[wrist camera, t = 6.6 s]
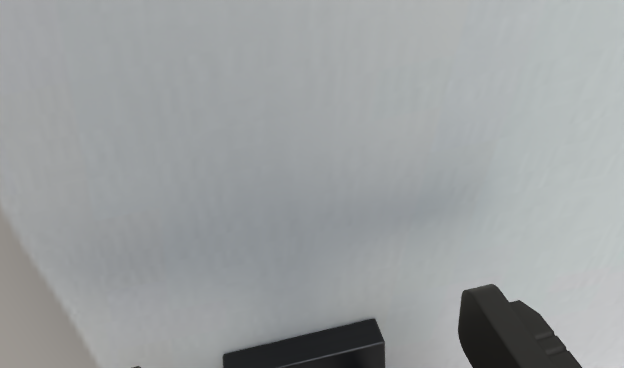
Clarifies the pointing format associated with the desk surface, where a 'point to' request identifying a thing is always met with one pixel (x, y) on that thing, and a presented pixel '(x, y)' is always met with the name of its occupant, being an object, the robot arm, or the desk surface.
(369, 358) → the bracket
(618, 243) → the desk surface
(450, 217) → the desk surface
